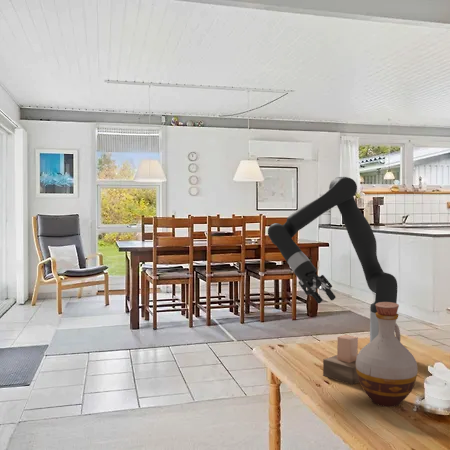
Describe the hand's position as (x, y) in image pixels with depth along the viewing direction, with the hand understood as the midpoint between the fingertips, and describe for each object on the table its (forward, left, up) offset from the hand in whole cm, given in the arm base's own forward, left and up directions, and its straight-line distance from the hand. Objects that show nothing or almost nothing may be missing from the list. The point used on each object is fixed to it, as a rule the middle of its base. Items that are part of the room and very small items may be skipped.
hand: (327, 300), depth 174 cm
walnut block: (0, +9, -26) cm, 27 cm away
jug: (+11, +29, -26) cm, 40 cm away
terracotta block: (0, +8, -20) cm, 21 cm away
